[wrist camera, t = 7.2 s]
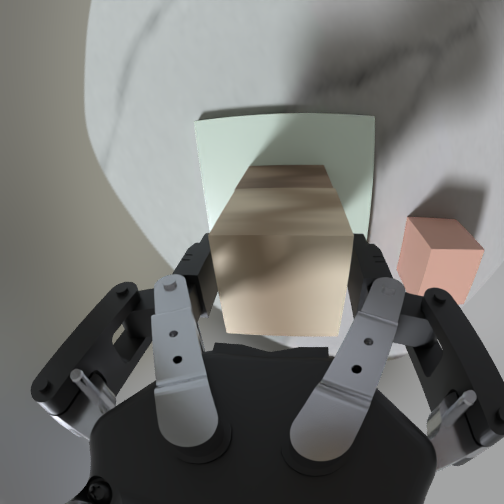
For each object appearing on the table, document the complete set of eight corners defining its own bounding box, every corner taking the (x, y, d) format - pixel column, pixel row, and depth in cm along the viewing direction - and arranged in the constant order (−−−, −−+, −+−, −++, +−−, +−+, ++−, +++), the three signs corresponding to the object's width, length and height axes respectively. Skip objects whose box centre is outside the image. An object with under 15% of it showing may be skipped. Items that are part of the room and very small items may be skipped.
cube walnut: (323, 164, 17) (333, 188, 13) (322, 231, 20) (328, 271, 16) (249, 166, 18) (234, 189, 14) (254, 231, 21) (243, 270, 16)
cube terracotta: (455, 218, 18) (484, 249, 14) (442, 268, 21) (463, 303, 16) (406, 216, 19) (431, 249, 15) (396, 268, 21) (413, 307, 17)
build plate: (371, 115, 15) (374, 116, 15) (360, 264, 22) (361, 270, 21) (197, 120, 17) (193, 121, 17) (218, 263, 24) (216, 269, 23)
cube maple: (335, 188, 13) (354, 236, 9) (329, 270, 16) (337, 336, 11) (235, 188, 14) (208, 235, 10) (244, 269, 16) (226, 332, 12)
